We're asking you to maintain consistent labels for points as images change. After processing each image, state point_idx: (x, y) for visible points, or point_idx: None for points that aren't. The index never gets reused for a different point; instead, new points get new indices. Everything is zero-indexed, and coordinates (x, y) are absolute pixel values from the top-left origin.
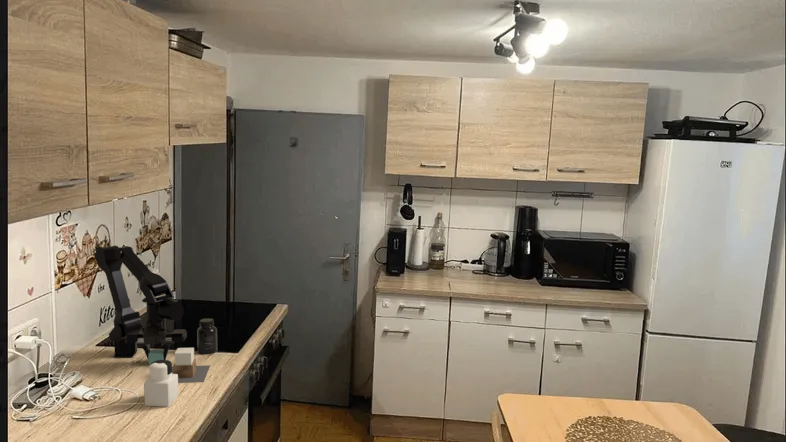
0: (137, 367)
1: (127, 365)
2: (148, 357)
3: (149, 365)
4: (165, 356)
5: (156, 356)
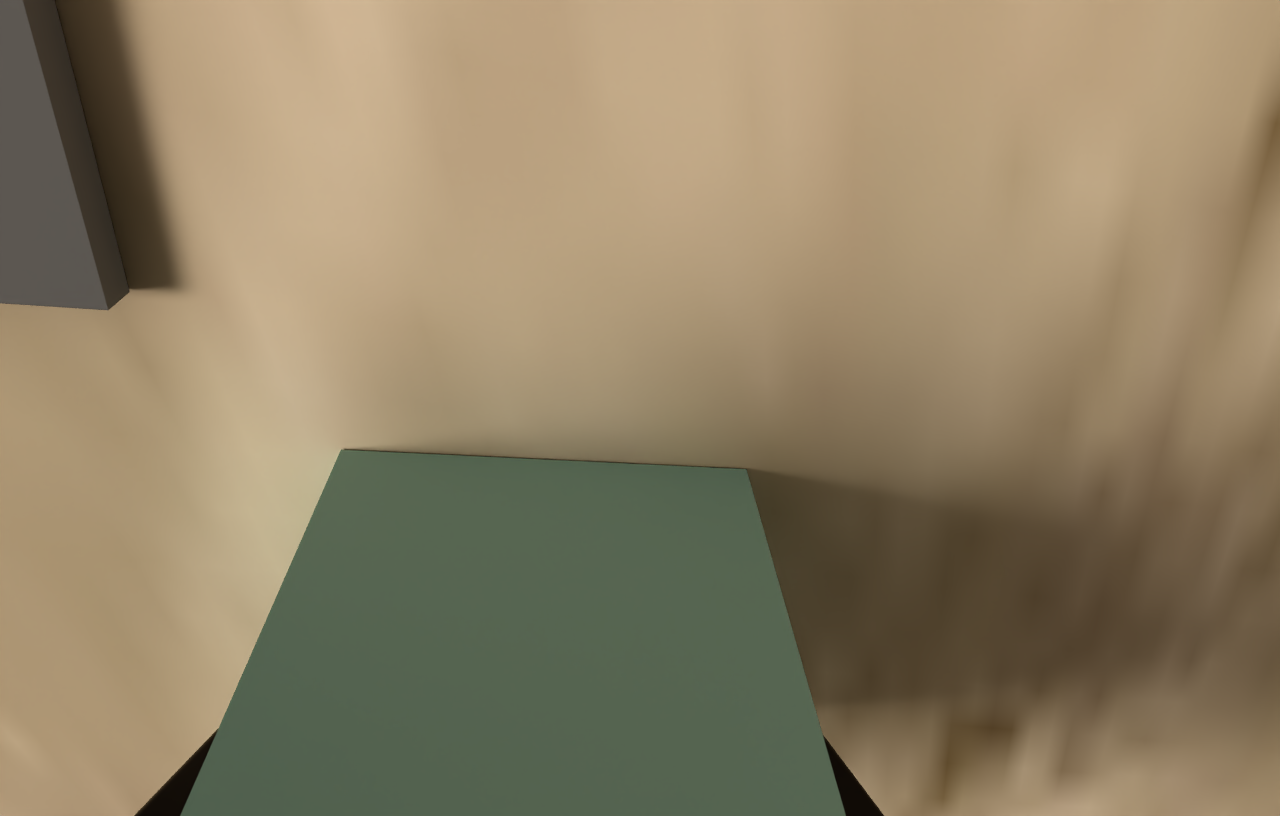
0: (1040, 464)
1: (1238, 602)
2: (815, 712)
3: (730, 491)
4: (196, 773)
5: (489, 738)
